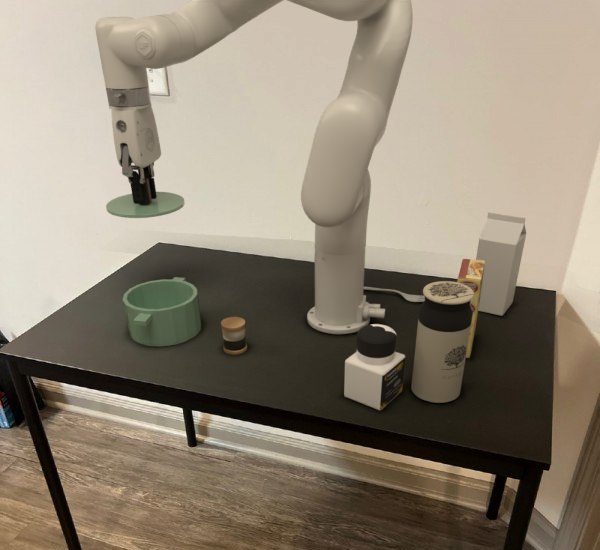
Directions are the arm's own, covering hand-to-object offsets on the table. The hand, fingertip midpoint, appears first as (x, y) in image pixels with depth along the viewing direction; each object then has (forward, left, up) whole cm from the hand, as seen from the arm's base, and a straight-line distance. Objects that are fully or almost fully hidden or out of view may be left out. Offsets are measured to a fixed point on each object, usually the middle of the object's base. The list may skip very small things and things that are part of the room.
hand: (145, 200), depth 119 cm
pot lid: (0, 0, -1) cm, 1 cm away
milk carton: (-70, -9, -21) cm, 73 cm away
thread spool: (-23, +18, -21) cm, 36 cm away
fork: (-48, -11, -21) cm, 53 cm away
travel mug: (-60, +25, -21) cm, 68 cm away
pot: (-7, +13, -21) cm, 26 cm away
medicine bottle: (-50, +28, -21) cm, 61 cm away
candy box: (-64, +9, -21) cm, 68 cm away
